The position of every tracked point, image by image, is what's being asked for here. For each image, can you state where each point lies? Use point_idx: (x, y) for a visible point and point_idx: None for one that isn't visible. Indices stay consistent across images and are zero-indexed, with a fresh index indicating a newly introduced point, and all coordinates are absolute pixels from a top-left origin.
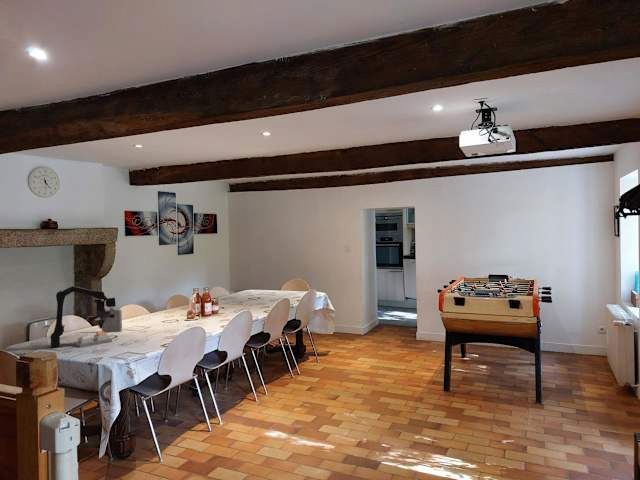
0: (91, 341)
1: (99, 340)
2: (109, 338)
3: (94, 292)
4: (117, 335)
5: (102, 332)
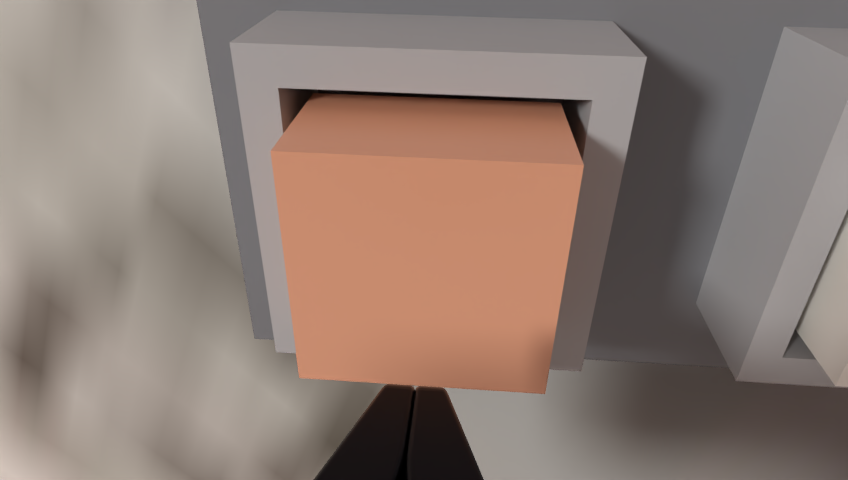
0: (835, 31)
1: (561, 19)
2: (223, 63)
3: None
4: (5, 400)
5: (377, 247)
